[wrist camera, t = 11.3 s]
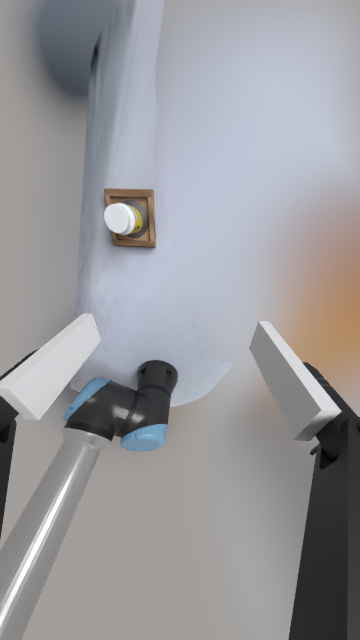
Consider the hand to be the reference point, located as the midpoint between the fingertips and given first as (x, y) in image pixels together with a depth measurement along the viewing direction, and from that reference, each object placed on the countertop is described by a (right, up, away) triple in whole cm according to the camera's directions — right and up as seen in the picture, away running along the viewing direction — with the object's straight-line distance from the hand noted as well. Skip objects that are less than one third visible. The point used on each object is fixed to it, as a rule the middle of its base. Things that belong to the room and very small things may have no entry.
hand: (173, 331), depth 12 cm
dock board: (-9, +22, +20) cm, 32 cm away
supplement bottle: (-9, +22, +20) cm, 31 cm away
